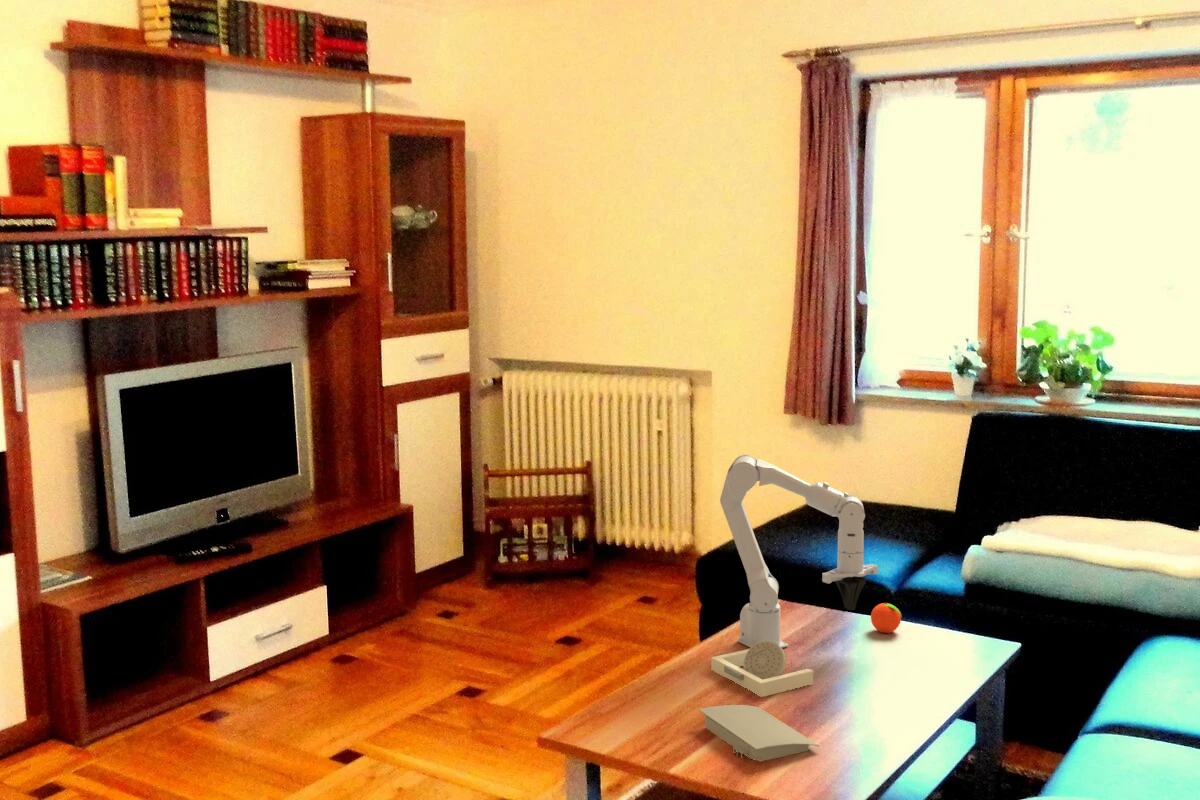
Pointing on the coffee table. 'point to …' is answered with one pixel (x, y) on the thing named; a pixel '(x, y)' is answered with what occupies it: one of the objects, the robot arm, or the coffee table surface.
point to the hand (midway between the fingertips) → (849, 608)
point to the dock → (730, 669)
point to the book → (754, 732)
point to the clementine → (885, 617)
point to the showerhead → (765, 660)
